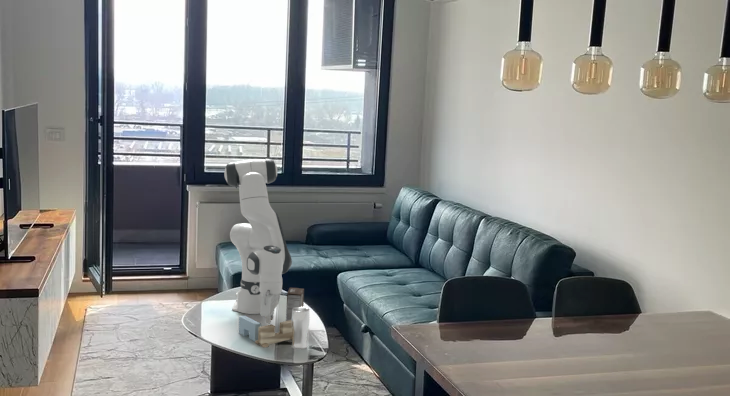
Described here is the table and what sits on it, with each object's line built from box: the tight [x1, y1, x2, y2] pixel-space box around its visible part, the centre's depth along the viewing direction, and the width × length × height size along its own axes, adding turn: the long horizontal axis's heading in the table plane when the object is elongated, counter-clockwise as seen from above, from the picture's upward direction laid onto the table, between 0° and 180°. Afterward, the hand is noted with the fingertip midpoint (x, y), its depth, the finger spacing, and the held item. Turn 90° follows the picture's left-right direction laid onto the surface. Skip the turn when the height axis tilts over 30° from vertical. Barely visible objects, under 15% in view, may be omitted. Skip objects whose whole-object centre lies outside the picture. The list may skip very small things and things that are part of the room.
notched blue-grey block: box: [238, 315, 262, 342], centre depth 276 cm, size 12×2×7 cm, turn 42°
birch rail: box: [254, 320, 293, 349], centre depth 272 cm, size 6×16×7 cm, turn 133°
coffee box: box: [285, 287, 305, 321], centre depth 289 cm, size 9×6×16 cm
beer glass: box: [291, 306, 311, 350], centre depth 267 cm, size 7×7×15 cm
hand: (269, 321), depth 274 cm, fingers open, 3 cm apart
